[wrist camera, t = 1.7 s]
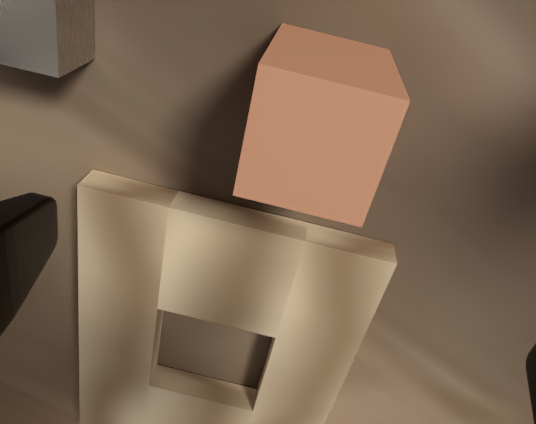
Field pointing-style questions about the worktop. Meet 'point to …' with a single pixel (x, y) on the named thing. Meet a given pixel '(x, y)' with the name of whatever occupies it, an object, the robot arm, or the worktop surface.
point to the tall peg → (320, 125)
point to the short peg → (47, 35)
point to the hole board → (215, 304)
